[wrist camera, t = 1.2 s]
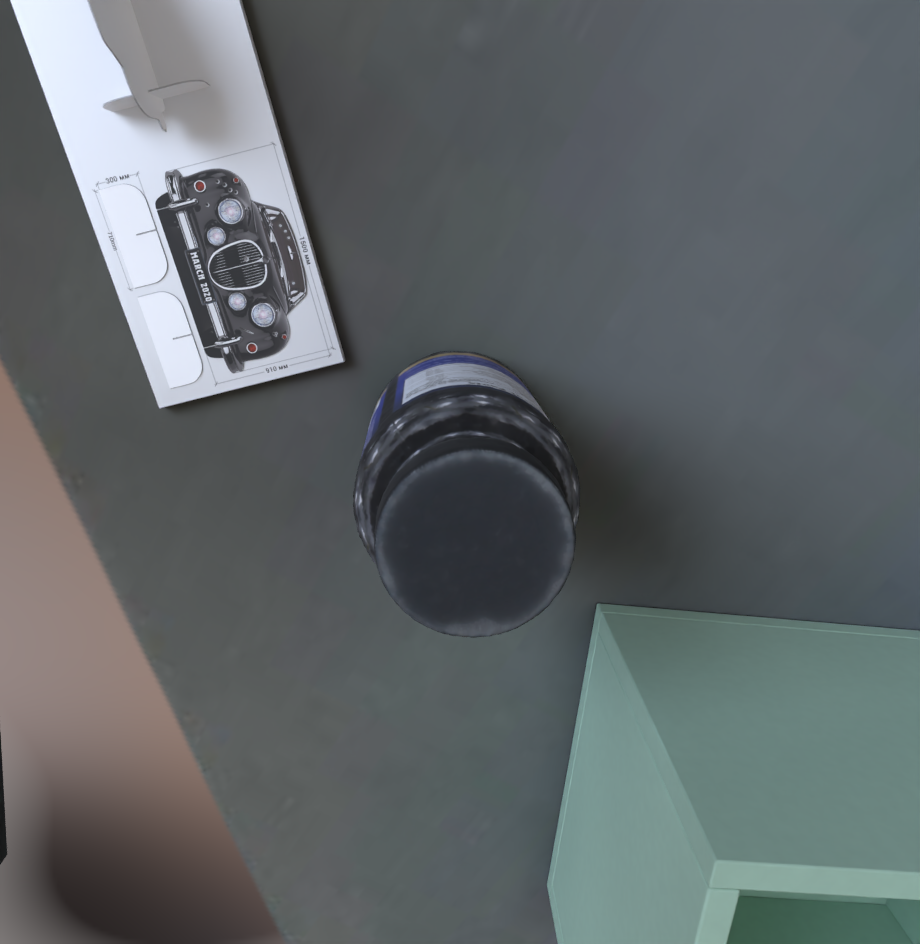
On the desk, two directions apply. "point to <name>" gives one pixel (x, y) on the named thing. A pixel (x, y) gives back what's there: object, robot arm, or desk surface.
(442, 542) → the pill bottle
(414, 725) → the desk surface
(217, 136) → the car cutout
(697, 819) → the box
